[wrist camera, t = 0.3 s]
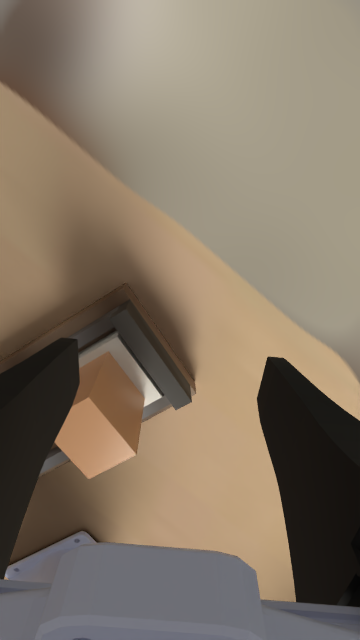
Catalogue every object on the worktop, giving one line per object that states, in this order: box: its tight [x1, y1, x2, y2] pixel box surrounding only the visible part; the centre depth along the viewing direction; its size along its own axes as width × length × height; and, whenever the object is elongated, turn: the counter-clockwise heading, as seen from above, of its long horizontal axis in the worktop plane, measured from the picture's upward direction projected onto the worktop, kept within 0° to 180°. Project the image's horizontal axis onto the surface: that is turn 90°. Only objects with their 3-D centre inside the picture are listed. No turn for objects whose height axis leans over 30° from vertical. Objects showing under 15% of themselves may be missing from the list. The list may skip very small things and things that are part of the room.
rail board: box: [0, 283, 196, 478], centre depth 24 cm, size 20×9×4 cm, turn 122°
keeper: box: [55, 330, 162, 479], centre depth 20 cm, size 5×5×6 cm
